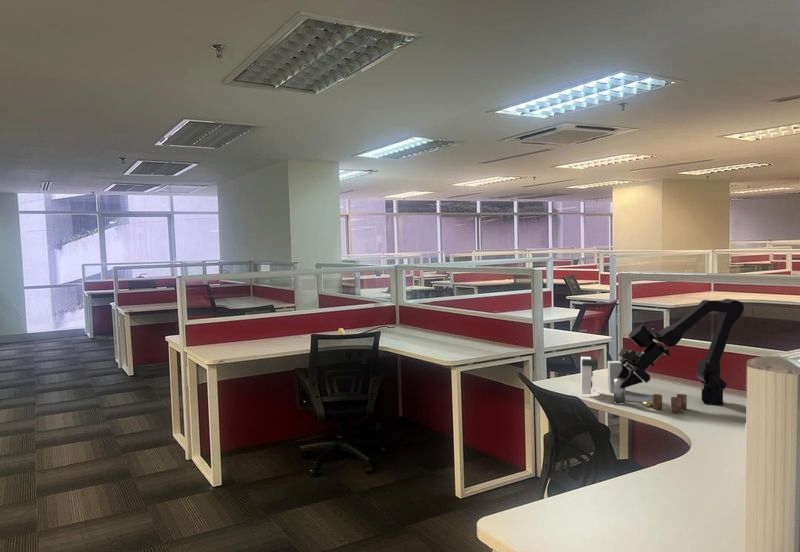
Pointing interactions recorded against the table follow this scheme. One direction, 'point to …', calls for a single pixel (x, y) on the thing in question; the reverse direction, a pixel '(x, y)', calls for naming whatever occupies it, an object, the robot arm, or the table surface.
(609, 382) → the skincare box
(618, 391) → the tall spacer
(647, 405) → the nut
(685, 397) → the spacer
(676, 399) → the spacer
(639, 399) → the mat
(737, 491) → the table surface
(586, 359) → the narrow upright pillar
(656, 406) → the spacer
